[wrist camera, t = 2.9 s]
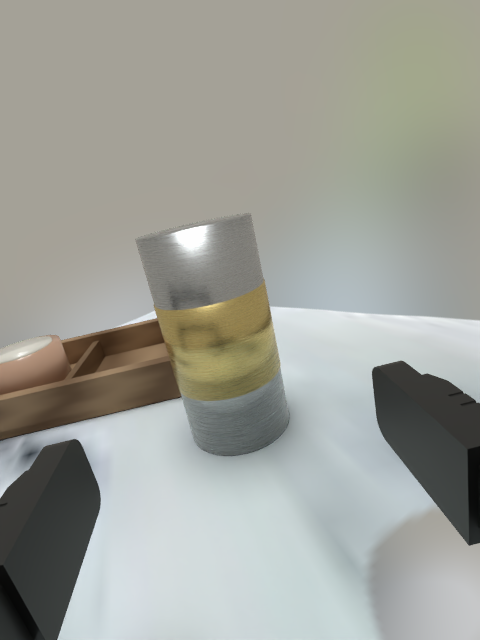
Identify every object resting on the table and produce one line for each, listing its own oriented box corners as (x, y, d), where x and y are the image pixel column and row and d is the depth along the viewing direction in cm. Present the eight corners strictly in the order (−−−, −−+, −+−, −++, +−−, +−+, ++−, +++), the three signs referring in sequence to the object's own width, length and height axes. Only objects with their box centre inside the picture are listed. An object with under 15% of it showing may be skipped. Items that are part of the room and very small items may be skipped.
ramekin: (-20, 420, 29) (-44, 374, 28) (17, 383, 35) (0, 343, 34) (60, 401, 29) (41, 354, 28) (84, 367, 36) (69, 328, 34)
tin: (191, 467, 20) (123, 245, 16) (193, 407, 26) (143, 234, 22) (301, 440, 20) (260, 214, 16) (278, 387, 26) (244, 211, 22)
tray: (-63, 454, 27) (-83, 420, 26) (15, 379, 38) (3, 353, 37) (207, 390, 27) (197, 354, 26) (205, 335, 39) (198, 308, 38)
